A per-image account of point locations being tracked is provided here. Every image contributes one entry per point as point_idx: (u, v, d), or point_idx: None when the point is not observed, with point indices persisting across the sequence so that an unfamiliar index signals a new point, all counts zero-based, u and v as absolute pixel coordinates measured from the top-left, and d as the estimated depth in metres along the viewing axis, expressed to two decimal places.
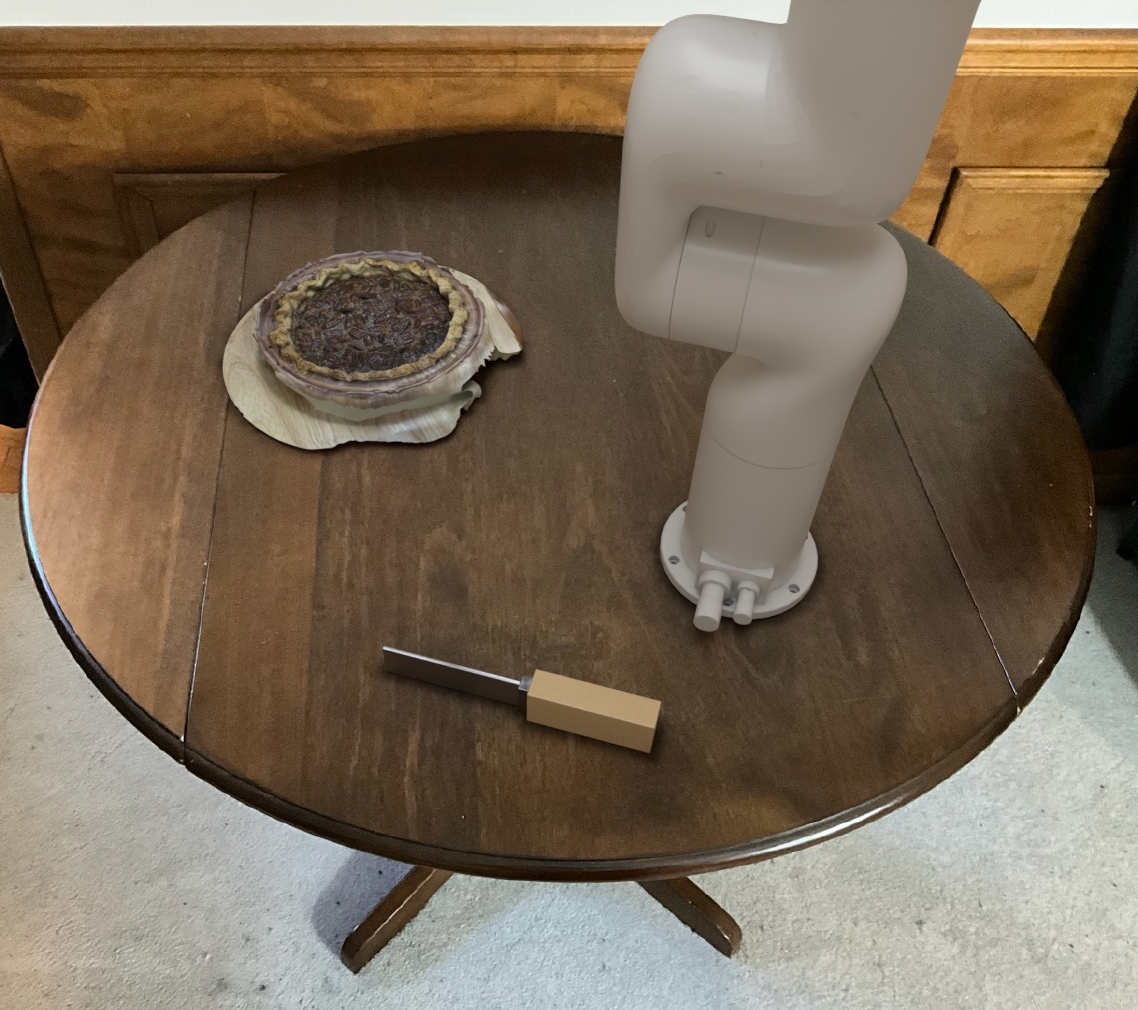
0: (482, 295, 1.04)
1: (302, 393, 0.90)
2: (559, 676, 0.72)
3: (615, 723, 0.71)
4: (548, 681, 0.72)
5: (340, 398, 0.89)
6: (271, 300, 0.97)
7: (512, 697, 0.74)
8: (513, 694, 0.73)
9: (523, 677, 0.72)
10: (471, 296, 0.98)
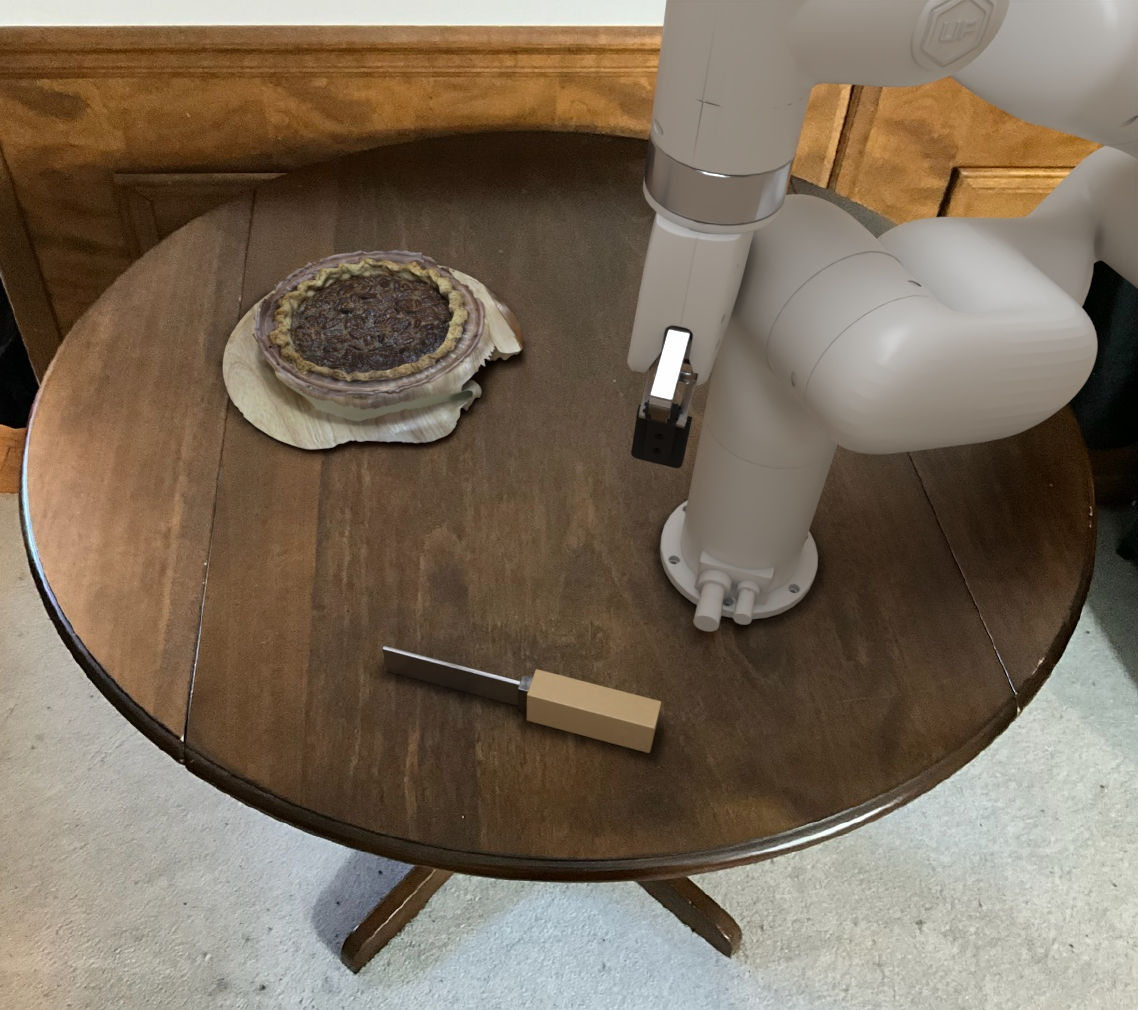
0: (482, 295, 1.04)
1: (302, 393, 0.90)
2: (559, 676, 0.72)
3: (615, 723, 0.71)
4: (548, 681, 0.72)
5: (340, 398, 0.89)
6: (271, 299, 0.97)
7: (512, 697, 0.74)
8: (513, 694, 0.73)
9: (523, 677, 0.72)
10: (471, 296, 0.98)
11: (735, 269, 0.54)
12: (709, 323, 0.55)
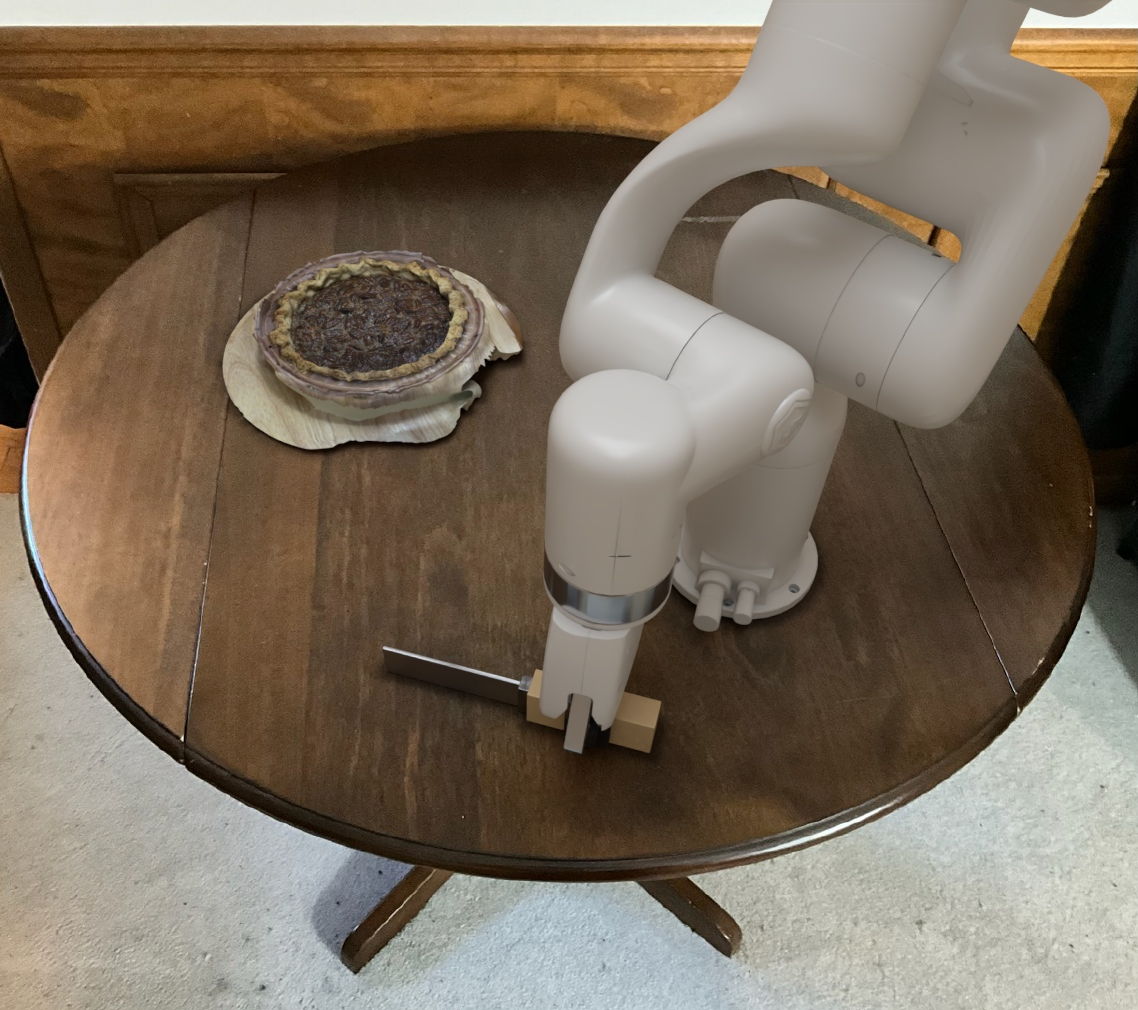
0: (482, 295, 1.04)
1: (302, 393, 0.90)
2: None
3: (615, 723, 0.71)
4: None
5: (340, 398, 0.89)
6: (271, 299, 0.97)
7: (512, 697, 0.74)
8: (513, 694, 0.73)
9: (523, 677, 0.72)
10: (471, 296, 0.98)
11: (626, 653, 0.59)
12: (606, 694, 0.61)
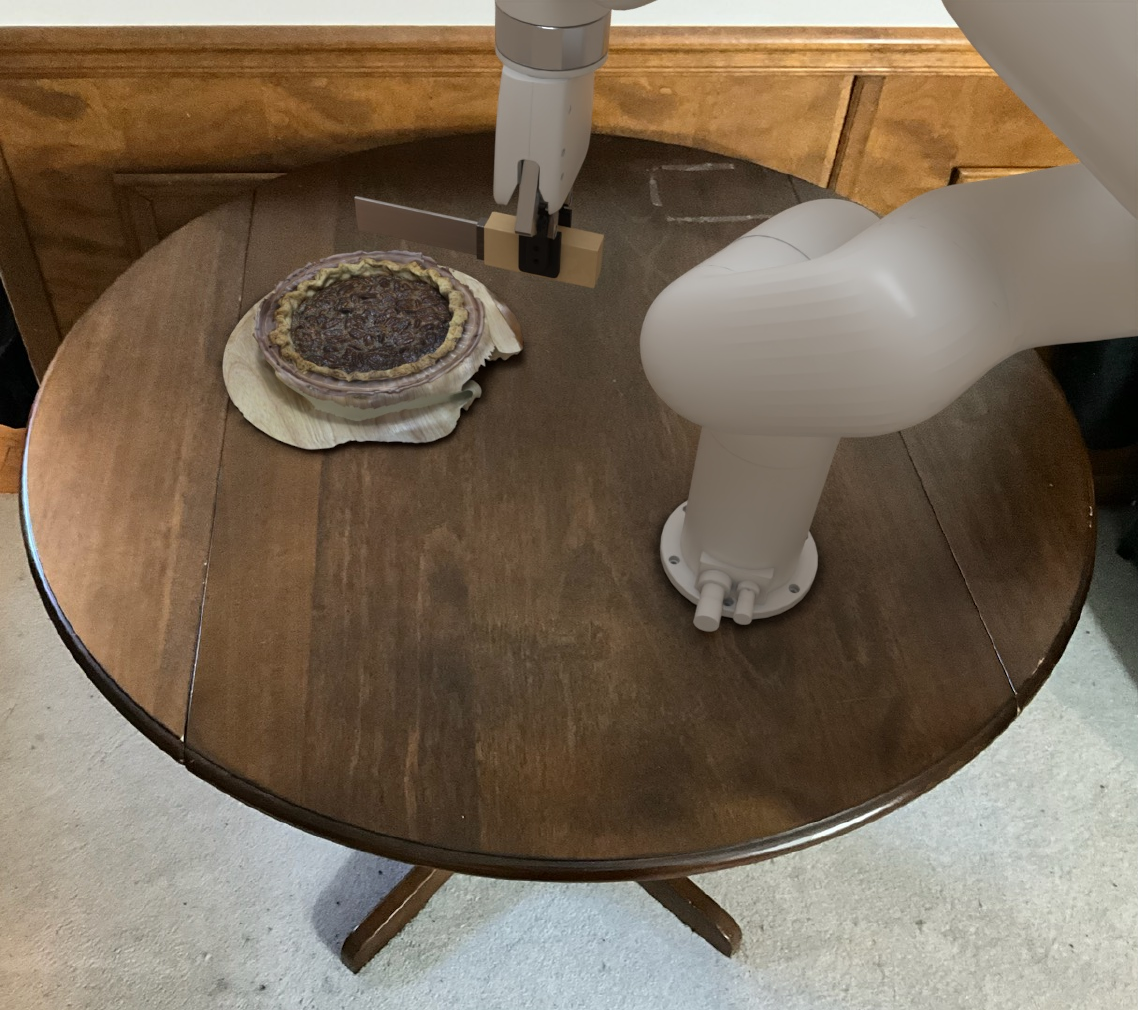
0: (482, 295, 1.04)
1: (302, 393, 0.90)
2: (513, 216, 0.81)
3: (562, 250, 0.79)
4: (503, 219, 0.80)
5: (340, 398, 0.89)
6: (271, 299, 0.97)
7: (471, 243, 0.82)
8: (472, 239, 0.82)
9: (481, 218, 0.81)
10: (471, 296, 0.98)
11: (568, 109, 0.68)
12: (551, 156, 0.69)
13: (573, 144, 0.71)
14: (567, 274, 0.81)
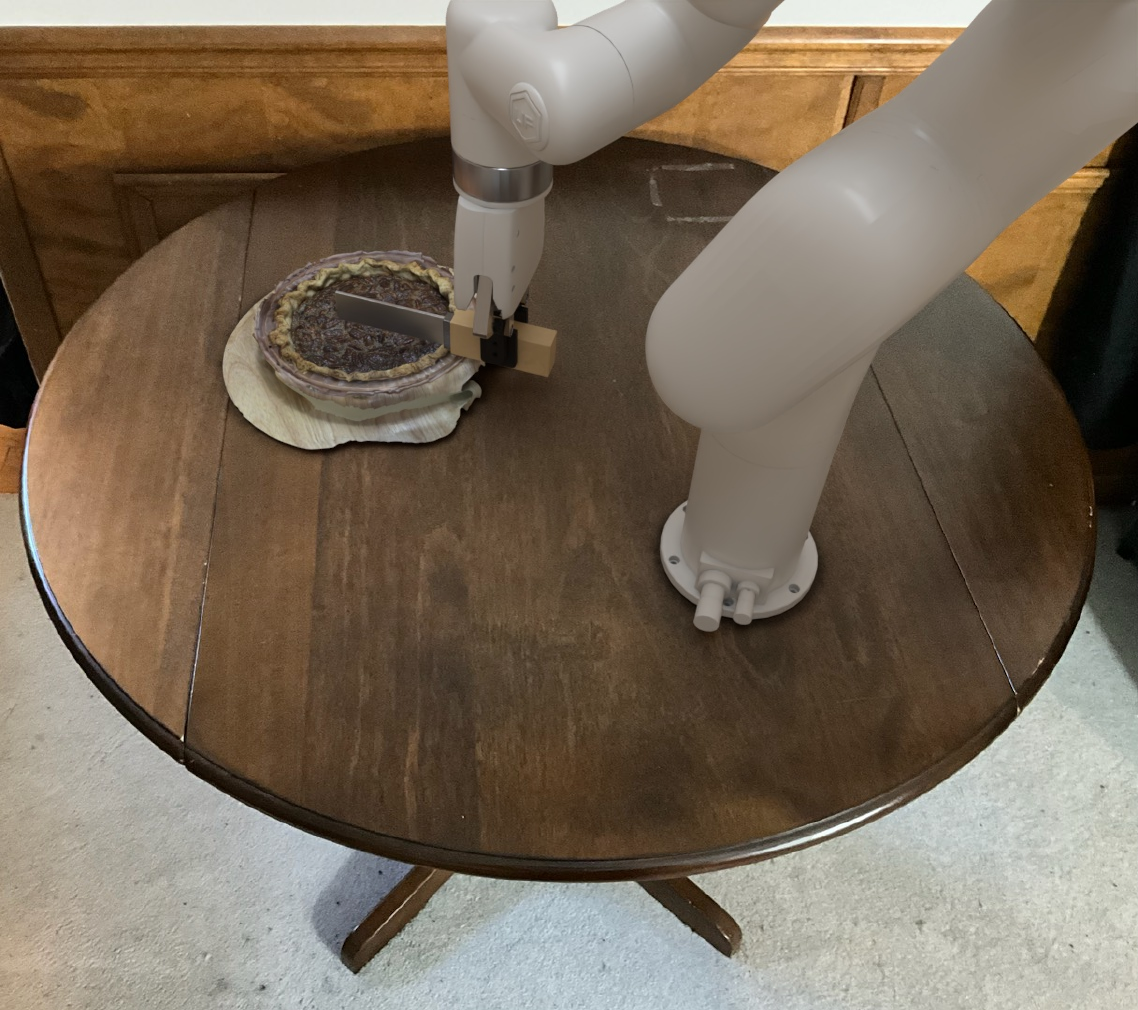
0: None
1: (302, 393, 0.90)
2: None
3: (519, 345, 0.89)
4: (467, 314, 0.90)
5: (340, 398, 0.89)
6: (271, 299, 0.97)
7: (439, 334, 0.92)
8: (439, 331, 0.91)
9: (447, 313, 0.90)
10: None
11: (516, 233, 0.77)
12: (502, 272, 0.79)
13: (523, 260, 0.80)
14: (524, 364, 0.90)
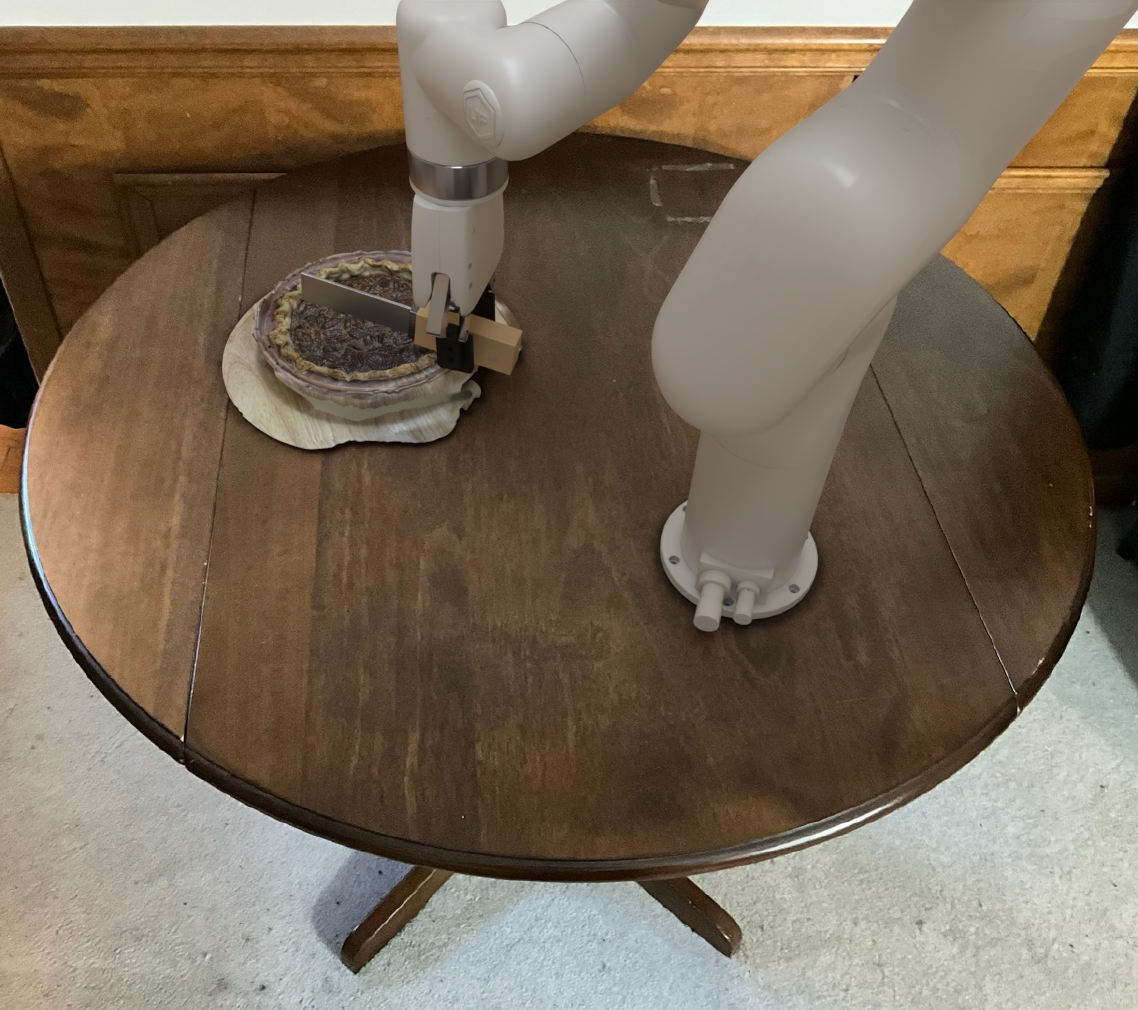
0: None
1: (301, 393, 0.90)
2: None
3: (484, 342, 0.89)
4: None
5: (340, 398, 0.89)
6: (271, 299, 0.97)
7: (404, 324, 0.92)
8: (404, 320, 0.91)
9: (414, 304, 0.90)
10: None
11: (471, 231, 0.78)
12: (459, 269, 0.79)
13: (480, 257, 0.81)
14: (487, 361, 0.91)
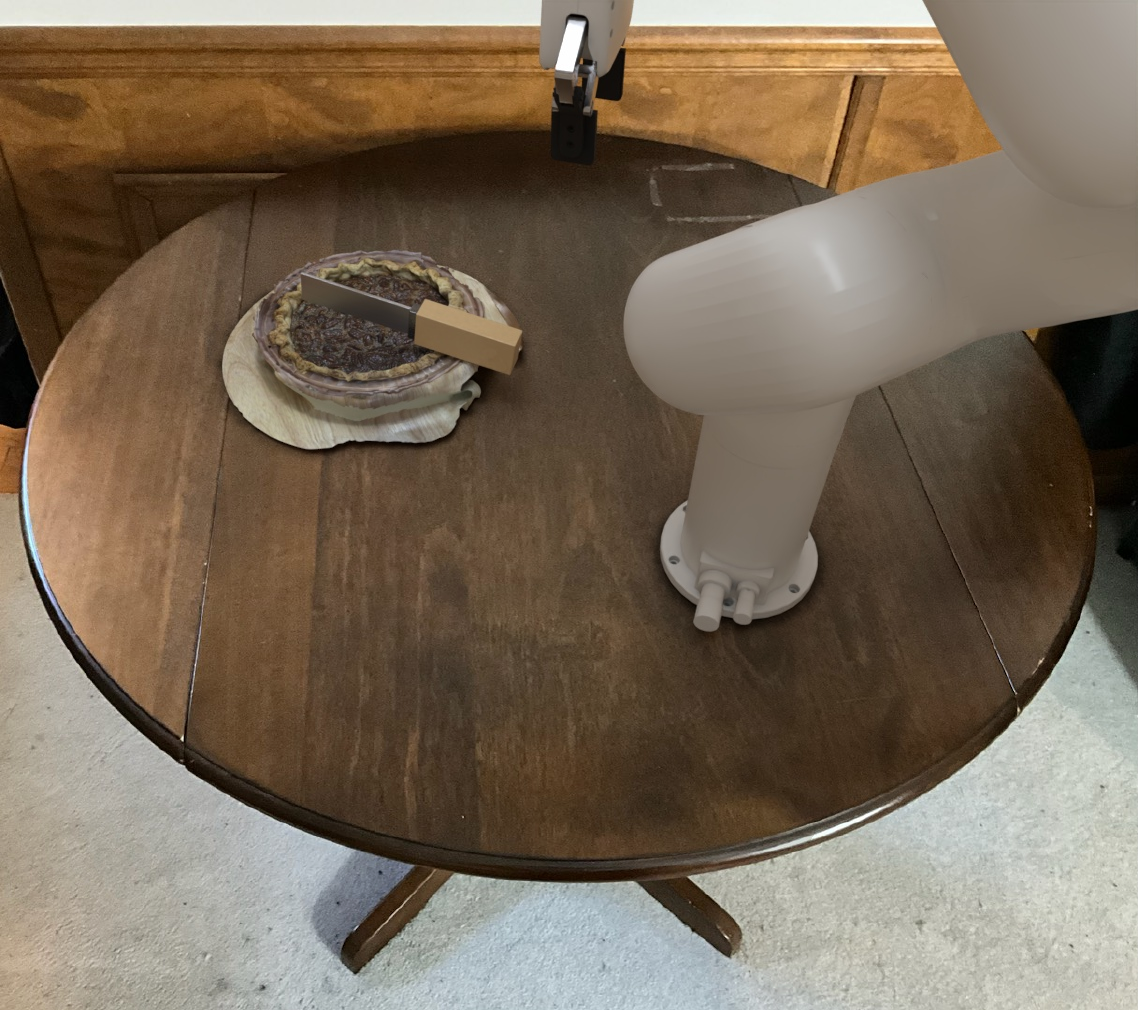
0: (482, 295, 1.04)
1: (301, 393, 0.90)
2: (443, 305, 0.90)
3: (484, 342, 0.89)
4: (434, 307, 0.90)
5: (339, 398, 0.89)
6: (271, 299, 0.97)
7: (404, 324, 0.92)
8: (404, 320, 0.91)
9: (414, 304, 0.90)
10: (471, 296, 0.98)
11: None
12: (601, 8, 0.67)
13: (621, 0, 0.69)
14: (487, 361, 0.91)
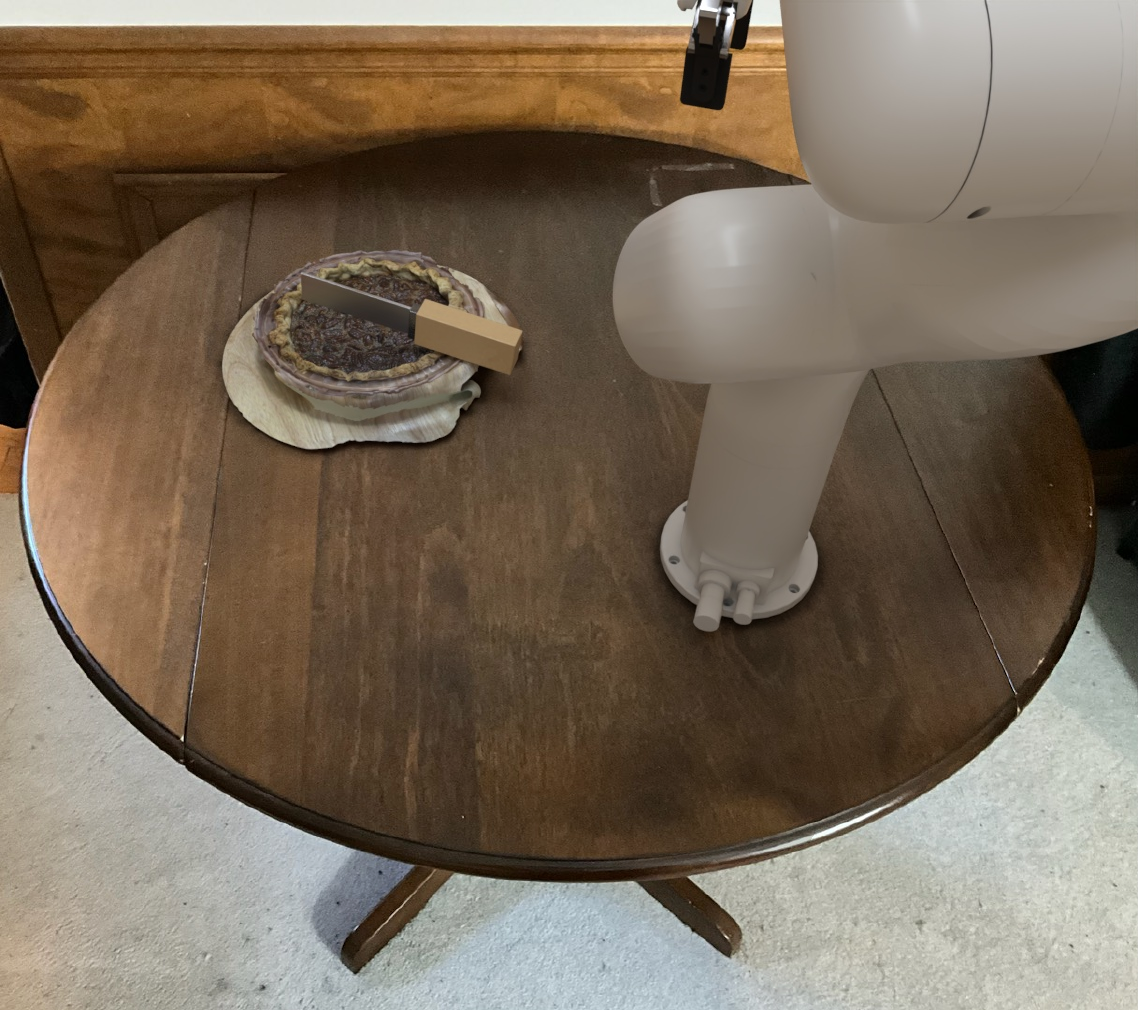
0: (482, 295, 1.04)
1: (301, 393, 0.90)
2: (443, 305, 0.90)
3: (484, 342, 0.89)
4: (434, 307, 0.90)
5: (339, 398, 0.89)
6: (271, 299, 0.97)
7: (404, 324, 0.92)
8: (405, 320, 0.91)
9: (414, 304, 0.90)
10: (471, 296, 0.98)
11: None
12: None
13: None
14: (487, 361, 0.91)
